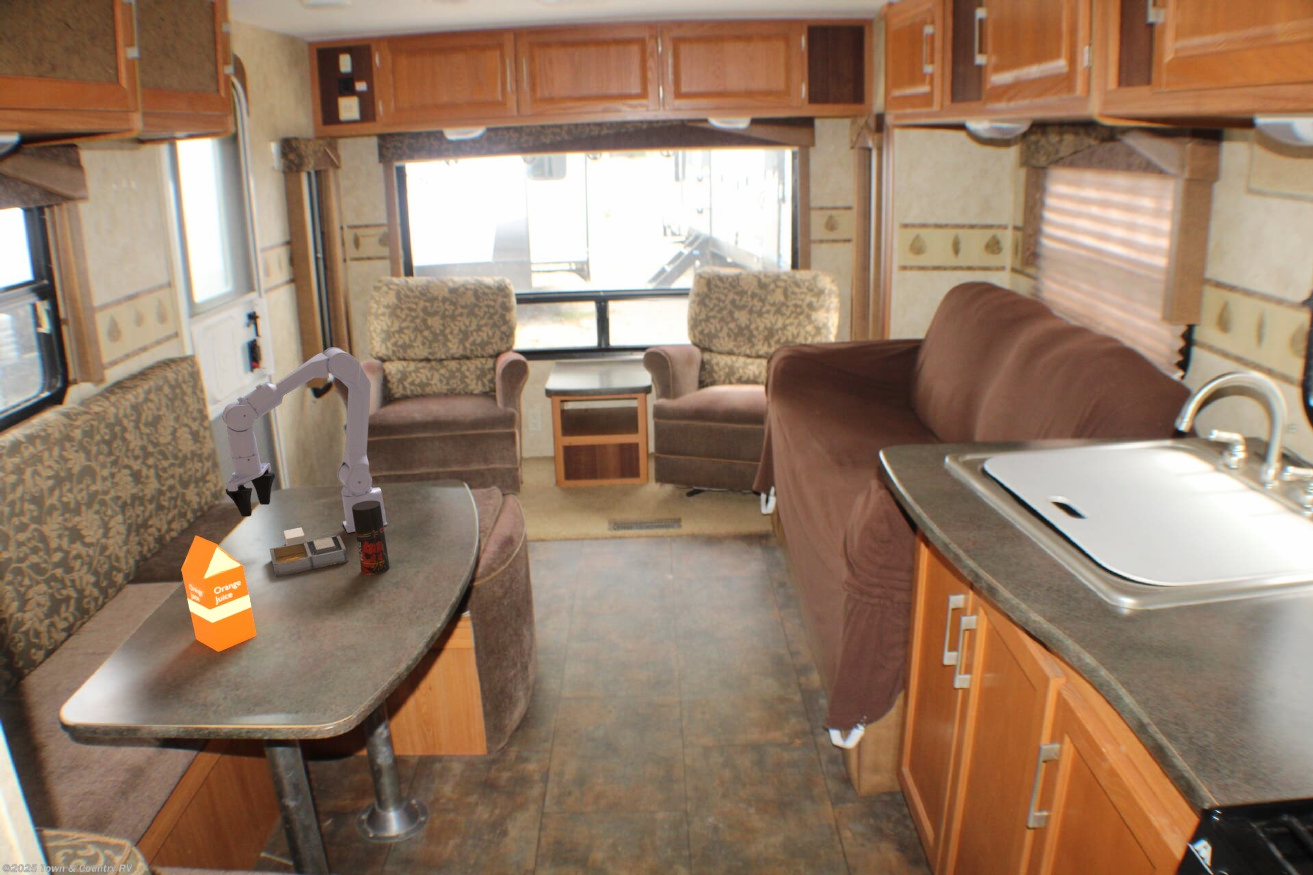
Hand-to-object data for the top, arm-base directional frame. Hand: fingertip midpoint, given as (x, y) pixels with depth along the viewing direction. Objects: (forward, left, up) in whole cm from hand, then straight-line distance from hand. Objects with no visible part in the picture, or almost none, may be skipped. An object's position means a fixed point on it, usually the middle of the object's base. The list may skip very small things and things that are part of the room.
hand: (256, 510), depth 221 cm
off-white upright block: (-7, +3, -10) cm, 13 cm away
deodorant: (-21, +28, -10) cm, 37 cm away
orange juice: (+10, +45, -10) cm, 47 cm away
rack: (-9, +15, -10) cm, 20 cm away
